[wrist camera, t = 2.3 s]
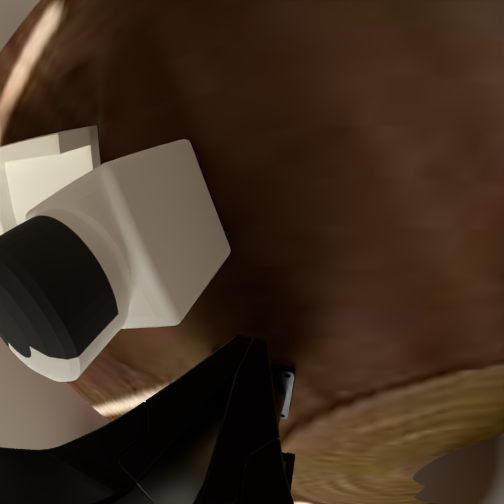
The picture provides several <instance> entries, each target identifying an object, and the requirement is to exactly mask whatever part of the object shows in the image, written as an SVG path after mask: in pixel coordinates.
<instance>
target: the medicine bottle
mask: <svg viewBox="0 0 504 504" xmlns="http://www.w3.org/2000/svg"><path fill="white" fill-rule="evenodd" d="M25 219H26V221H25V222H23V223H21V224H19V225H18V226H16V227H14V228H12V229H11V230H9V231H7V232H5V233H4V234H2V235H0V336H1V338H2V339H3V341H4V342H5V343H6V344H7V346H8V347H9V348H10V349H11V350H12V352H13V353H14V354H15V355H16V356H17V357H18V358H19V359H20V360H21V361H22V362H23V363H25V364H26V365H27V366H28V367H30V368H31V369H32V370H34V371H36V372H38V373H40V374H42V375H44V376H46V377H48V378H50V379H52V380H55V381H59V382H66V381H74V380H76V379H77V378H78V377H79V376H80V375H81V374H82V372H83V371H84V370H85V369H86V368H87V367H88V365H89V364H90V363H91V362H92V361H93V360H94V358H95V357H96V356H97V355H98V354H99V353H100V351H101V350H102V349H103V348H104V347H105V346H106V345H107V343H108V342H109V341H110V340H111V339H112V338H113V337H114V336H115V334H116V333H117V332H118V331H119V330H120V329H124V328H144V327H160V326H175V325H177V324H179V323H180V322H181V321H182V320H183V318H184V317H185V315H186V314H187V313H188V311H189V310H190V308H191V307H192V306H193V304H194V303H195V301H196V300H197V299H198V297H199V296H200V294H201V293H202V292H203V290H204V289H205V287H206V286H207V285H208V283H209V282H210V281H211V279H212V278H213V276H214V275H215V274H216V272H217V271H218V270H219V268H220V267H221V265H222V264H223V263H224V261H225V260H226V259H227V257H228V256H229V254H230V252H231V250H230V246H229V243H228V241H227V238H226V236H225V233H224V230H223V228H222V225H221V223H220V220H219V217H218V215H217V212H216V209H215V207H214V204H213V202H212V199H211V196H210V194H209V191H208V188H207V186H206V183H205V180H204V178H203V175H202V172H201V170H200V167H199V164H198V162H197V159H196V156H195V153H194V151H193V148H192V145H191V143H190V141H188V140H186V139H182V140H178V141H174V142H171V143H167V144H163V145H160V146H156V147H153V148H150V149H146V150H143V151H140V152H136V153H133V154H130V155H127V156H124V157H121V158H118V159H115V160H112V161H109V162H106V163H104V164H102V165H100V166H98V167H97V168H95V169H93V170H91V171H90V172H88V173H86V174H85V175H83V176H81V177H80V178H78V179H76V180H75V181H73V182H72V183H70V184H68V185H67V186H65V187H64V188H62V189H60V190H59V191H57V192H56V193H54V194H53V195H51V196H50V197H48V198H47V199H45V200H44V201H42V202H41V203H39V204H38V205H37V206H35V207H34V208H32V209H31V210H29V211H28V212H27V214H26V217H25Z"/></svg>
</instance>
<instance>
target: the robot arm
mask: <svg viewBox="0 0 504 504" xmlns="http://www.w3.org/2000/svg"><path fill="white" fill-rule="evenodd" d="M286 373H288V374H286ZM294 377H295V371H294V369H292V368H289V367H284V366H278V365H272V364H270V357H269V349H268V342H267V340H264V339H258V338H253V339H252V338H251V337H248V336H242V335H237V336H235V337H234V338H232V339H231V340H230V341H228V342H227V343H226V344H224V345H223V346H222V347H220V348H219V349H218V350H216V351H215V352H214V353H212V354H211V355H210V356H208V357H207V358H205V359H204V360H203V361H201V362H200V363H199V364H197V365H196V366H194V367H193V368H192V369H190V370H189V371H187V372H186V373H185V374H183V375H182V376H180V377H179V378H178V379H176V380H175V381H173V382H172V383H170V384H169V385H168V386H166V387H165V388H163V389H162V390H160V391H159V392H157V393H156V394H155V395H153V396H152V397H150V398H149V399H147V400H146V403H145V402H143V403H141V404H140V405H138V406H137V407H135V408H134V409H132V410H130V411H129V412H127V413H126V414H124V415H122V416H121V417H119V418H117V419H116V420H114V421H112V422H110V423H108V424H106V425H104V426H102V427H100V428H99V429H96V430H94V431H92V432H90V433H88V434H86V435H84V436H81V437H79V438H77V439H75V440H73V441H71V442H68V443H66V444H64V445H61V446H58V447H55V448H51V449H44V450H30V449H28V450H27V449H13V448H1V447H0V504H294V502H293V499H292V496H291V492H290V491H291V484H292V476H293V469H294V461H295V454H292V453H288V452H287V453H283V452H282V451H281V443H280V440H279V439H280V436H279V428H278V425H279V421H280V419H286V418H287V417H288V413H289V407H290V402H291V396H292V389H293V383H294Z"/></svg>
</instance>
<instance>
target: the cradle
mask: <svg viewBox="0 0 504 504" xmlns="http://www.w3.org/2000/svg"><path fill="white" fill-rule="evenodd" d="M100 165H101V163H100V153H99V142H98V128H97V125H95V126H89V127H83V128H77V129H72V130H66V131H61V132H56V133H51V134H47V135H42V136H38V137H34V138H29V139H25V140H21V141H18V142H14V143H10V144H6V145H3V146H0V235H2V234H4V233H5V232H7V231H9V230H11V229H12V228H14V227H16V226H18V225H19V224H21V223H23V222H25V221H26V219H25V217H26V214H27V212H28V211H29V210H31V209H32V208H34V207H35V206H37V205H38V204H39V203H41V202H42V201H44V200H45V199H47V198H48V197H50V196H51V195H53V194H54V193H56V192H57V191H59V190H60V189H62V188H64V187H65V186H67V185H68V184H70V183H72V182H73V181H75V180H76V179H78V178H80V177H81V176H83V175H85V174H86V173H88V172H90V171H91V170H93V169H95V168H97V167H98V166H100Z"/></svg>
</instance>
